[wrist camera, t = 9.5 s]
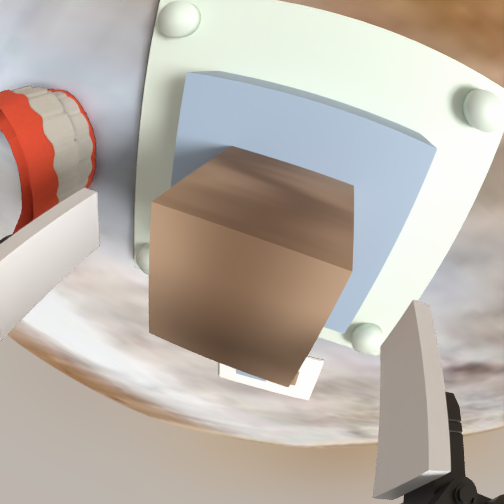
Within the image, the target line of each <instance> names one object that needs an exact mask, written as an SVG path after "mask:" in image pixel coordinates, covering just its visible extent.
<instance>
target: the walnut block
mask: <svg viewBox="0 0 504 504" xmlns="http://www.w3.org/2000/svg"><path fill="white" fill-rule="evenodd" d="M353 242H354V185H351V184H348V183H346V182H343V181H340V180H337V179H335V178H332V177H329V176H326V175H323V174H320V173H317V172H315V171H312V170H309V169H306V168H303V167H300V166H297V165H294V164H290V163H287V162H284V161H281V160H278V159H275V158H271V157H268V156H265V155H262V154H258V153H255V152H251V151H248V150H245V149H241V148H238V147H234V146H231V147H229V148H228V149H226V150H225V151H223V152H222V153H220V154H219V155H217V156H216V157H214V158H213V159H211V160H210V161H208V162H207V163H205V164H204V165H202V166H201V167H199V168H198V169H197V170H195V171H194V172H192V173H191V174H189V175H188V176H186V177H185V178H184V179H182V180H181V181H179V182H178V183H177V184H175V185H174V186H172V187H171V188H170V189H168V190H167V191H166V192H164V193H163V194H161V195H160V196H159V197H157V198H156V199H155V200H153V201H152V205H151V222H150V247H149V333H151V334H154V335H156V336H158V337H160V338H162V339H164V340H167V341H169V342H171V343H173V344H176V345H178V346H180V347H183V348H185V349H187V350H190V351H192V352H194V353H197V354H199V355H202V356H204V357H206V358H209V359H211V360H214V361H216V362H219V363H221V364H224V365H227V366H229V367H232V368H234V369H237V370H240V371H242V372H245V373H248V374H250V375H253V376H256V377H259V378H262V379H264V380H267V381H270V382H273V383H276V384H279V385H282V386H285V387H289V386H290V384H291V382H292V381H293V379H294V377H295V376H296V374H297V372H298V371H299V369H300V367H301V366H302V364H303V362H304V361H305V359H306V357H307V355H308V354H309V352H310V350H311V348H312V347H313V345H314V343H315V341H316V340H317V338H318V336H319V334H320V332H321V331H322V329H323V327H324V325H325V323H326V322H327V320H328V318H329V316H330V314H331V312H332V310H333V309H334V307H335V305H336V303H337V301H338V299H339V297H340V295H341V293H342V291H343V289H344V287H345V285H346V283H347V281H348V279H349V277H350V275H351V273H352V269H353Z"/></svg>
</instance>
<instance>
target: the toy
mask: <svg viewBox="0 0 504 504" xmlns="http://www.w3.org/2000/svg"><path fill="white" fill-rule="evenodd" d="M0 130H1V131H2V132H3V134H4V135H5V137H6V138H7V140H8V142H9V144H10V147H11V149H12V152H13V155H14V158H15V160H16V163H17V166H18V170H19V176H20V183H21V191H22V212H21V215H20V218H19V220H18V223H17V225H16V227H15V230H14V232H13V234H14V233H16V232H18V231H19V230H20V229H22V228H23V227H25V226H26V225H27V224H29V223H30V222H32V221H33V220H35V219H36V218H38V217H39V216H40V215H42V214H43V213H45V212H46V211H48V210H50V209H51V208H53V207H54V206H56V205H57V204H59V203H60V202H62V201H63V200H65V199H67V198H68V197H70V196H71V195H73V194H75V193H76V192H78V191H80V190H81V189H83V188H87V189H88V187H89V186H90V184H91V182H92V180H93V175H94V173H95V167H96V161H95V157H96V142H95V137H94V132H93V129H92V126H91V124H90V122H89V119H88V117H87V115H86V113H85V112H84V110H83V108H82V106H81V105H80V103H79V102H78V101H77V99H76V98H75V97H74V96H72V95H71V94H70V93H69V92H66V91H63V90H54V89H48V90H47V89H45V88H41V87H34V88H32V86H27V87H23V88H19V89H16V90H12V91H10V90H5V91H2V92H0Z"/></svg>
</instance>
